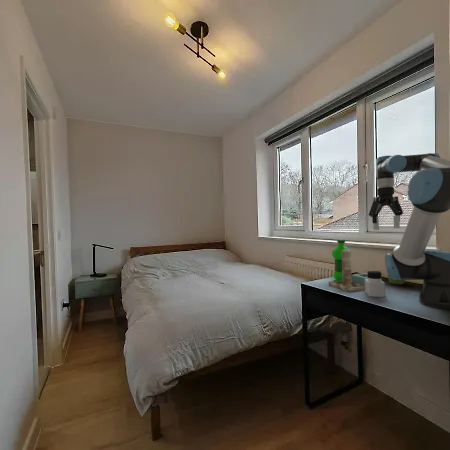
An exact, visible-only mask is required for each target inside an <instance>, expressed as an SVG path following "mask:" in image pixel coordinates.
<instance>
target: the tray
mask: <svg viewBox="0 0 450 450" xmlns="http://www.w3.org/2000/svg"><path fill="white" fill-rule="evenodd" d="M351 285H352V287H351V288H348V287H345V286H343V280H339V281H337V280H333V281H328V286H331V287H334V288H337V289H340V290H342V291H345V292H348V293H354V292H359V291H365V285H361V284H358V283H354V282H352V281H351Z"/></svg>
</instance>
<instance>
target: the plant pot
mask: <svg viewBox="0 0 450 450" xmlns="http://www.w3.org/2000/svg"><path fill="white" fill-rule="evenodd" d="M383 264H384V265H385V262H383ZM386 273H387V272H386ZM387 278H388V282H389V283H390V284H393V285H405V282H406V280H394V279H391V278H390V277H389V275H388V273H387Z"/></svg>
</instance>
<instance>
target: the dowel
mask: <svg viewBox="0 0 450 450" xmlns="http://www.w3.org/2000/svg"><path fill="white" fill-rule="evenodd" d="M342 279H343V286H345V287H348V288H351V287H352V285H351V282H352V251H351V249H349V250H342Z"/></svg>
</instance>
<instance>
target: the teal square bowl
mask: <svg viewBox="0 0 450 450" xmlns="http://www.w3.org/2000/svg"><path fill="white" fill-rule="evenodd" d="M365 279H368V275H367V272H362V273H354V274H351V282H354V283H358V284H361V285H365Z"/></svg>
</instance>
